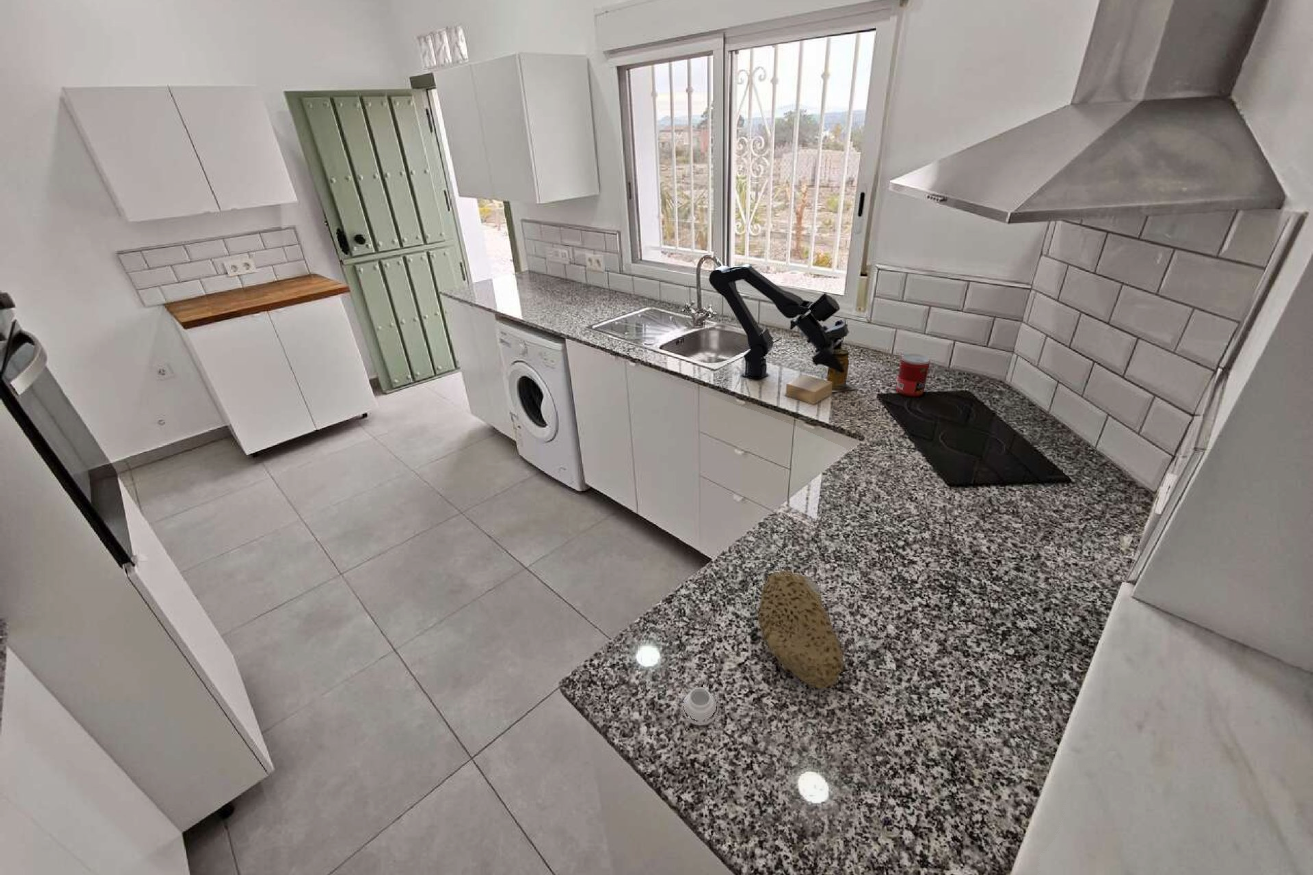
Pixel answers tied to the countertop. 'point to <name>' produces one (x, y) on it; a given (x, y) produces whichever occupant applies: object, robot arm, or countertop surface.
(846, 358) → the condiment
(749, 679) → the countertop surface
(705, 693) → the white jar
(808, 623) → the sponge
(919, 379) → the canned food
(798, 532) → the countertop surface
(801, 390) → the block
